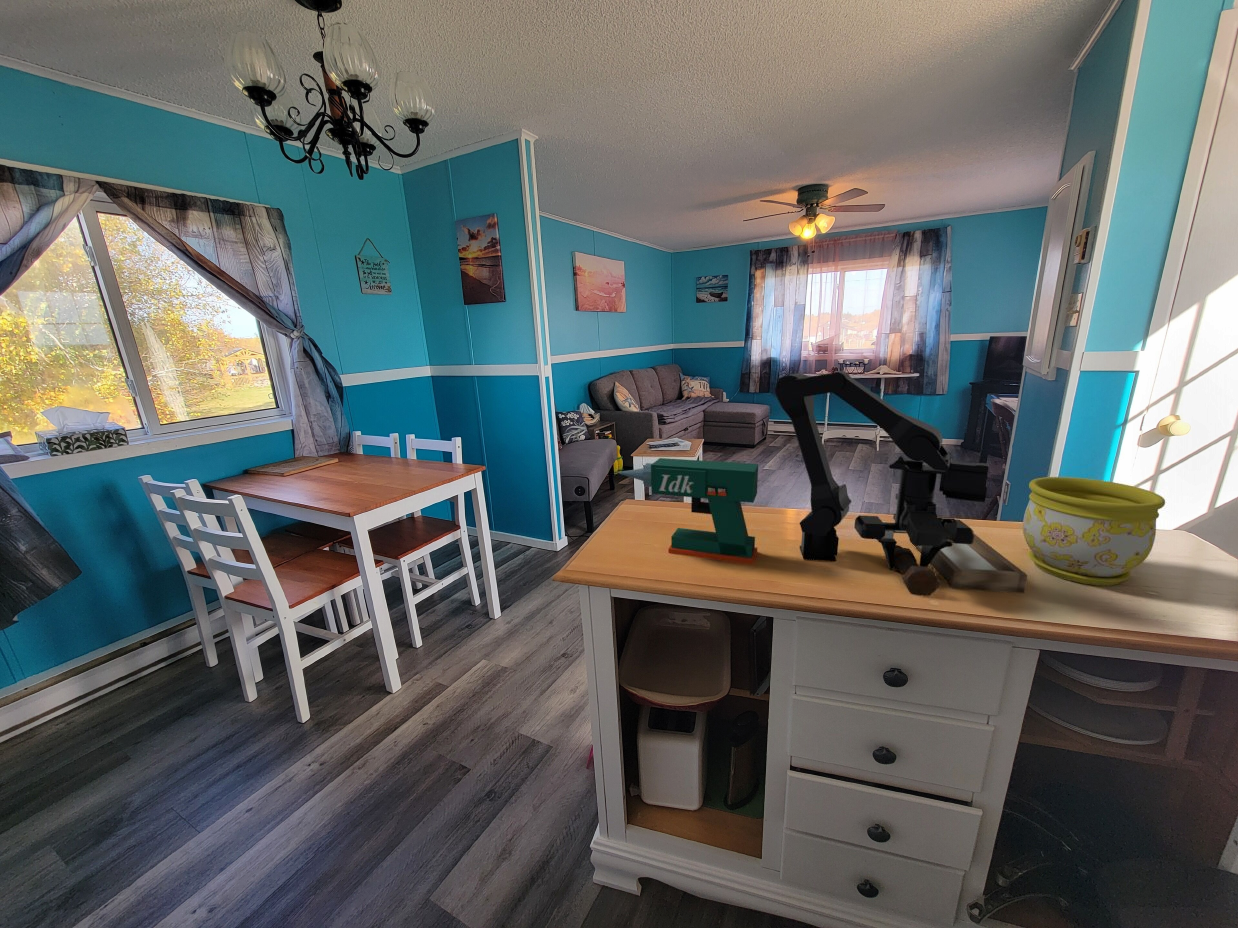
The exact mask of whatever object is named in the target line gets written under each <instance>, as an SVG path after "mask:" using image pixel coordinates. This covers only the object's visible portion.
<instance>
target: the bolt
mask: <svg viewBox="0 0 1238 928" xmlns="http://www.w3.org/2000/svg"><path fill="white" fill-rule="evenodd" d="M917 562H918V561H917V558H916V557H915V555H914V553H913V552H912V550H911V549H910V548H907V547H903V546H902V545H898V544H896V545H895V550H894V567H893V570H895V571H898V572H901V574H902V575H903V576H902V577H901V580H902V581H903V584H904V586H905V588H906V589H907V590H908V593H910V594H911V595H915V596H921V595H923V597H925V596H926V597H928V596H931V595H932V594H934V593H935V592H936V590H937V589H938V588H939V586H940V581H939V578H938V577H937V574H936V573H935V572H934V570H933V568H932V567H931V566H928V567H922V566H920V564H919V563H917Z"/></svg>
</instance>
